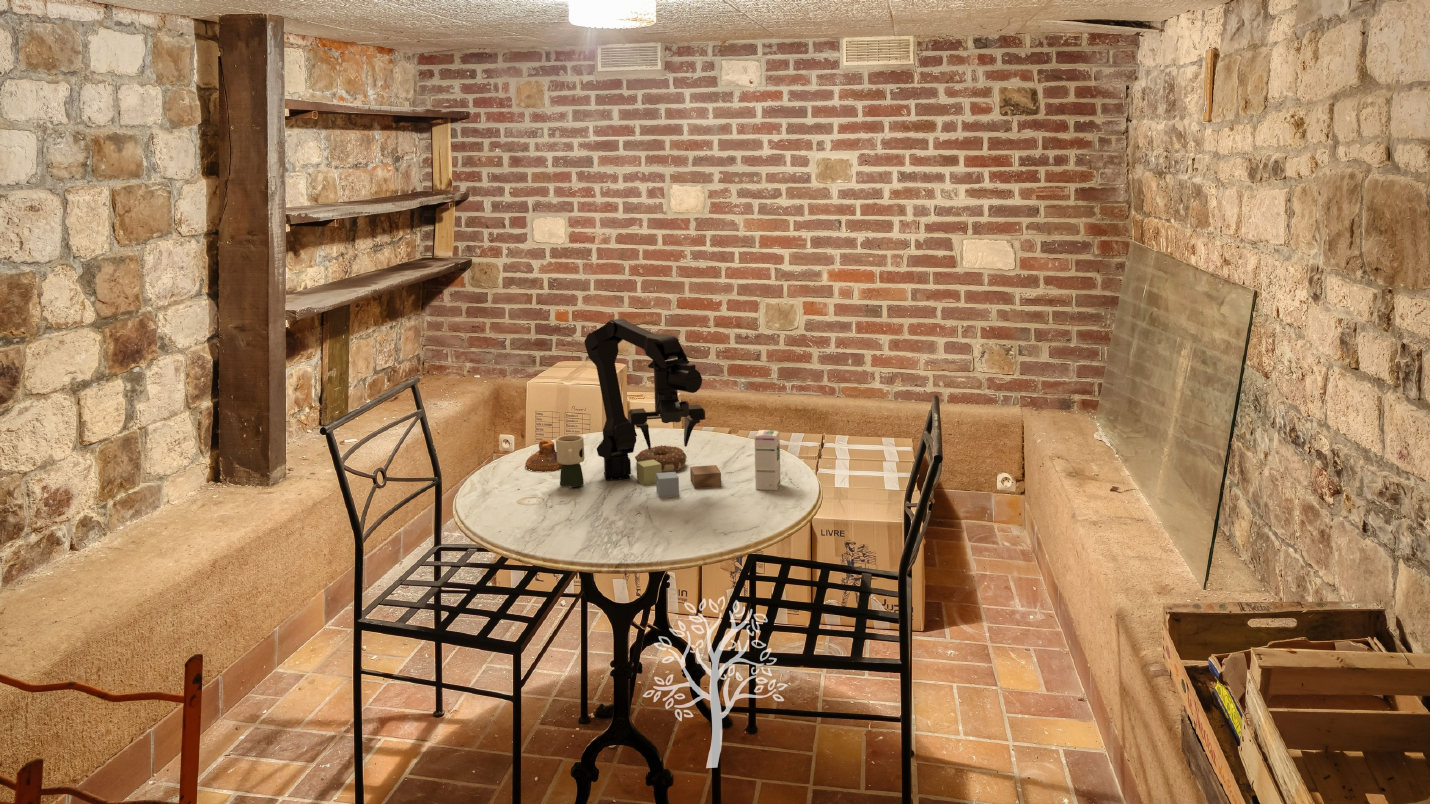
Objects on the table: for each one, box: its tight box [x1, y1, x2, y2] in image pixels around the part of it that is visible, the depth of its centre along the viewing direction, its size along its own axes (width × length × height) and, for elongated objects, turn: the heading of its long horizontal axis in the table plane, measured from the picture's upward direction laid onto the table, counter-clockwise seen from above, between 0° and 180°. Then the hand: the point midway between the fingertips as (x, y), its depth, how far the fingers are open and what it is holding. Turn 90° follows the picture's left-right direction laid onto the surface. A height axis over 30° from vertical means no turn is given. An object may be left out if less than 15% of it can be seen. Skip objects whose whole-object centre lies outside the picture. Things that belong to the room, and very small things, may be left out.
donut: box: [634, 444, 688, 473], centre depth 279 cm, size 14×14×5 cm
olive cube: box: [635, 459, 662, 486], centre depth 266 cm, size 5×5×5 cm
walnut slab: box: [689, 464, 722, 489], centre depth 264 cm, size 7×7×4 cm
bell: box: [524, 440, 562, 473], centre depth 281 cm, size 12×12×7 cm
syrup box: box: [754, 429, 781, 491], centre depth 259 cm, size 6×6×14 cm
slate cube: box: [655, 471, 680, 498], centre depth 256 cm, size 5×5×5 cm
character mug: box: [555, 434, 585, 488], centre depth 262 cm, size 11×7×13 cm, turn 9°
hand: (667, 447), depth 254 cm, fingers open, 9 cm apart
